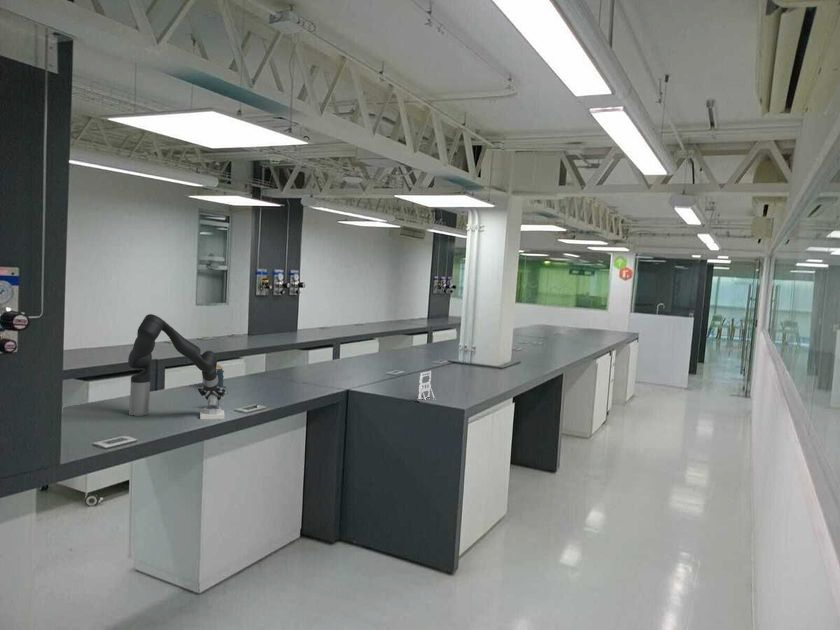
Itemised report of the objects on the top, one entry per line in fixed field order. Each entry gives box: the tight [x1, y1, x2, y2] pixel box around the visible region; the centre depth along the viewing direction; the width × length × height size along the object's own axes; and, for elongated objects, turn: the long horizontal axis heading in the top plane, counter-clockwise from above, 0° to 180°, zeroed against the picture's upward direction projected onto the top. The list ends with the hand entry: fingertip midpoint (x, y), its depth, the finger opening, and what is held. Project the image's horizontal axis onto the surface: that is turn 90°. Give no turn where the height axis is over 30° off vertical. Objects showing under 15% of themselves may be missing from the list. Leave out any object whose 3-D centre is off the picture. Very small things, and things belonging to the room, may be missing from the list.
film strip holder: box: [417, 370, 435, 400], centre depth 397 cm, size 14×14×20 cm
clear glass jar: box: [207, 393, 218, 408], centre depth 321 cm, size 5×5×10 cm
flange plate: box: [199, 406, 226, 420], centre depth 322 cm, size 12×12×4 cm
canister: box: [201, 364, 225, 388], centre depth 391 cm, size 13×13×18 cm
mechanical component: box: [218, 390, 228, 407], centre depth 338 cm, size 3×10×10 cm, turn 134°
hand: (213, 398), depth 323 cm, fingers closed on clear glass jar, 5 cm apart
